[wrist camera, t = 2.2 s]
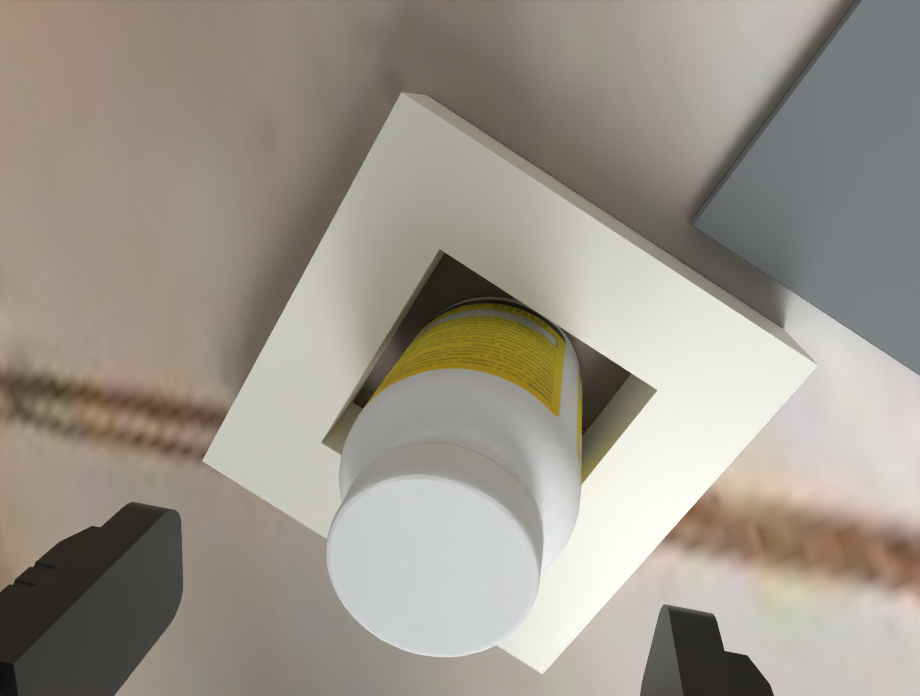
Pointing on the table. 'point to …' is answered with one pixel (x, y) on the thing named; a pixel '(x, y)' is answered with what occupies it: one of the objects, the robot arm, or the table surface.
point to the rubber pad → (840, 182)
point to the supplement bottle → (460, 480)
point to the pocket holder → (545, 291)
